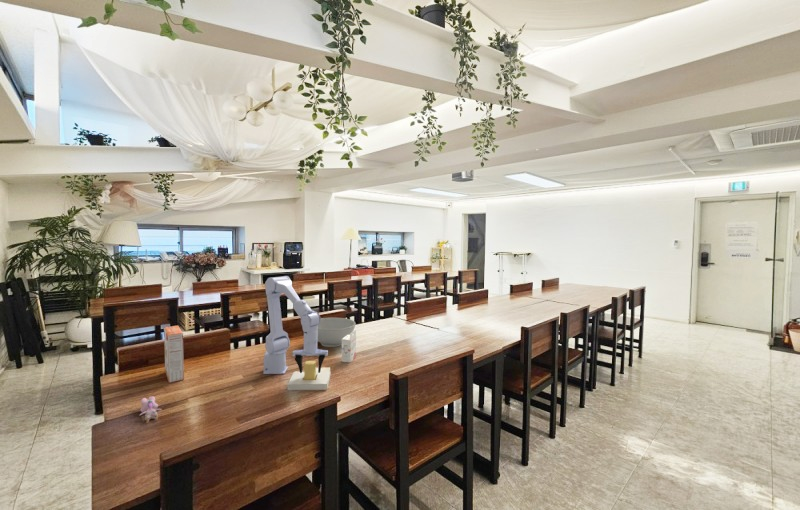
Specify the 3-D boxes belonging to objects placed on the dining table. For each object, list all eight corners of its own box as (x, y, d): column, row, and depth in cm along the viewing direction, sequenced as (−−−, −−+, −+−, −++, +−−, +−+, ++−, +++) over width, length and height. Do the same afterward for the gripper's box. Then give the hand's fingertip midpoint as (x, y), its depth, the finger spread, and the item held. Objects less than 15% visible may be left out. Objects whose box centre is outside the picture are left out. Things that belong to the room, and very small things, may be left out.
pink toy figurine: (163, 422, 119) (157, 399, 130) (163, 407, 118) (157, 384, 128) (140, 429, 115) (136, 404, 125) (140, 413, 113) (136, 389, 124)
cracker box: (164, 372, 156) (163, 326, 154) (179, 369, 159) (179, 324, 158) (167, 383, 145) (166, 334, 143) (184, 380, 148) (183, 332, 147)
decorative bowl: (318, 335, 217) (318, 316, 216) (360, 338, 213) (360, 319, 212) (300, 349, 190) (300, 327, 189) (347, 353, 187) (348, 331, 186)
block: (304, 385, 147) (304, 364, 146) (305, 381, 151) (306, 360, 150) (314, 385, 147) (314, 364, 147) (315, 380, 151) (316, 360, 151)
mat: (310, 375, 157) (310, 374, 157) (313, 368, 165) (313, 367, 165) (328, 375, 158) (328, 374, 158) (330, 368, 166) (330, 367, 166)
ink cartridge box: (346, 356, 183) (347, 328, 182) (355, 356, 182) (356, 329, 181) (341, 361, 174) (341, 333, 173) (350, 362, 173) (350, 334, 172)
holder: (287, 390, 142) (287, 384, 142) (294, 376, 155) (294, 371, 155) (327, 389, 143) (327, 383, 143) (330, 376, 156) (330, 371, 156)
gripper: (291, 344, 143) (291, 376, 144) (326, 343, 145) (326, 375, 146) (294, 338, 150) (294, 369, 151) (328, 338, 152) (328, 368, 153)
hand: (310, 372), depth 149 cm, fingers open, 7 cm apart
